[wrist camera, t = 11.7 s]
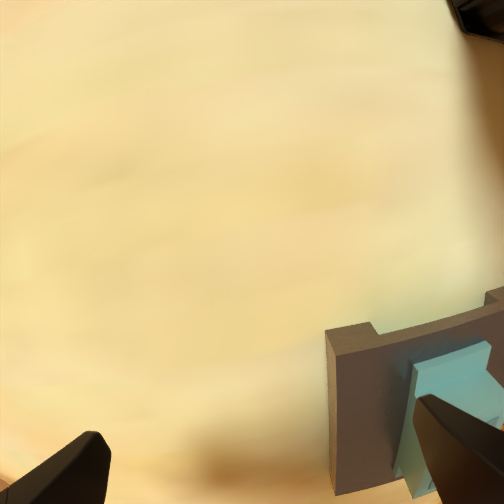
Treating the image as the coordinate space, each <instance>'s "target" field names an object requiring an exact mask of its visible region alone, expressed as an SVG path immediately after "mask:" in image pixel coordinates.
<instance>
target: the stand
mask: <svg viewBox="0 0 504 504" xmlns="http://www.w3.org/2000/svg"><path fill="white" fill-rule="evenodd" d="M325 337H326V353H327V371H328V394H329V429H330V475H331V480H332V484H333V489H334V493H335V496H338V495H343V494H347V493H352V492H356V491H360V490H364V489H368V488H372V487H376V486H379V485H383V484H386V483H390V482H393V481H396V480H399V479H402V478H404V476H400V477H396V478H395V475H394V473H393V469H394V465H395V461H396V457H397V453H398V448H399V444H400V440H401V435H402V430H403V425H404V420H405V415H406V409H407V404H408V398H409V391H410V385H411V378H412V370H413V364H416V363H420V362H423V361H427V360H430V359H433V358H436V357H440V356H443V355H446V354H449V353H452V352H455V351H458V350H461V349H464V348H466V347H469V346H472V345H475V344H477V343H480V342H483V341H487V342H488V343H489V344H490V345H491V351H490V355H489V359H488V363H487V367H486V370H487V371H488V372H489V373H490V374H491V376H492V377H493V378H494V379H495V380H496V381H497V382H498V383H499V384H500V385H501V386H502V387H503V388H504V287H500V288H497V289H494V290H491V291H488V292H486V297H485V304H484V306H483V307H480V308H477V309H474V310H471V311H467V312H464V313H461V314H457V315H454V316H451V317H447V318H444V319H440V320H437V321H433V322H429V323H426V324H422V325H418V326H414V327H410V328H406V329H402V330H398V331H394V332H390V333H385V334H381V335H378V334H377V332H376V331H375V329H374V328H373V326H372V325H371V323H370V322H366V323H361V324H356V325H351V326H346V327H341V328H335V329H330V330H325Z"/></svg>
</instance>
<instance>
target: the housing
mask: <svg viewBox="0 0 504 504" xmlns="http://www.w3.org/2000/svg"><path fill="white" fill-rule="evenodd" d="M490 351H491V345H490V344H489V343H488V342H487V341H483V342H480V343H477V344H475V345H472V346H469V347H466V348H464V349H461V350H458V351H455V352H452V353H449V354H446V355H443V356H440V357H436V358H433V359H430V360H427V361H423V362H420V363H416V364H413V370H412V378H411V385H410V391H409V398H408V404H407V409H406V415H405V420H404V425H403V430H402V435H401V440H400V444H399V448H398V453H397V457H396V461H395V465H394V469H393V473H394V475H395V478H396V477H400V476H404V479H405V481H406V484H407V486H408V488H409V491H410V493H411V496H412V498H413V499H415V498H417V497H420V496H423V495H426V494H428V493H431V492H433V491H436V490H437V489H436V487H435V485H434V482H433V480H432V478H431V476H430V473H429V471H428V469H427V466H426V463H425V460H424V457H423V454H422V450H421V447H420V444H419V441H418V438H417V435H416V432H415V429H414V425H413V413H414V408H415V403H416V399H417V398H418V397H420V396H423V395H426V394H433V395H435V396H437V397H439V398H441V399H442V400H444V401H446V402H448V403H450V404H452V405H454V406H455V407H457V408H459V409H461V410H463V411H465V412H467V413H469V414H471V415H473V416H474V417H476V418H478V419H480V420H482V421H484V422H486V423H488V424H490V425H492V426H494V427H496V428H498V429H500V430H501V427H502V425H503V423H504V388H503V387H502V386H501V385H500V384H499V383H498V382H497V381H496V380H495V379H494V378H493V377H492V376H491V374H490V373H489V372H488V371H487V370H486V367H487V363H488V359H489V355H490Z"/></svg>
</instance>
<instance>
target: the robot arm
mask: <svg viewBox="0 0 504 504" xmlns="http://www.w3.org/2000/svg"><path fill="white" fill-rule="evenodd" d="M451 1H452V4H453V6H454V9H455V12H456V15H457V18H458V21H459V24H460V27H461V29H462V31H463V32H464V33H466V34H468V35H472V36H477V37H481V38H485V39H489V40H493V41H497V42H500V43H504V0H451ZM466 26H467V27H468V28H467V27H466ZM413 425H414V429H415V432H416V435H417V438H418V441H419V444H420V447H421V450H422V454H423V457H424V460H425V463H426V466H427V469H428V471H429V473H430V476H431V478H432V480H433V482H434V485H435V487H436V489H437V491H438V494H439V496H440V498H441V501H442V503H443V504H504V431H502V430H500V429H498V428H496V427H494V426H492V425H490V424H488V423H486V422H484V421H482V420H480V419H478V418H476V417H474V416H473V415H471V414H469V413H467V412H465V411H463V410H461V409H459V408H457V407H455V406H454V405H452V404H450V403H448V402H446V401H444V400H442V399H441V398H439V397H437V396H435V395H433V394H426V395H423V396H420V397H418V398H417V399H416V403H415V408H414V413H413ZM110 462H111V450H110V448H109V446H108V445H107V443H106V442H105V440H104V438H103V437H102V435H101V434H100V433H99V432H97V431H86V432H84V433H83V434H81V435H80V436H79V437H77V438H76V439H75V440H73V441H72V442H71V443H69V444H68V445H66V446H65V447H64V448H62V449H61V450H60V451H58V452H57V453H55V454H54V455H53V456H51V457H50V458H48V459H47V460H46V461H44V462H43V463H41V464H40V465H39V466H37V467H36V468H34V469H33V470H32V471H30V472H29V473H27V474H26V475H24V476H23V477H22V478H20V479H19V480H17V481H16V482H14V483H13V484H11V485H10V486H9V487H7V488H6V489H4V490H3V491H1V492H0V504H104V502H105V497H106V491H107V484H108V476H109V469H110Z"/></svg>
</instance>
